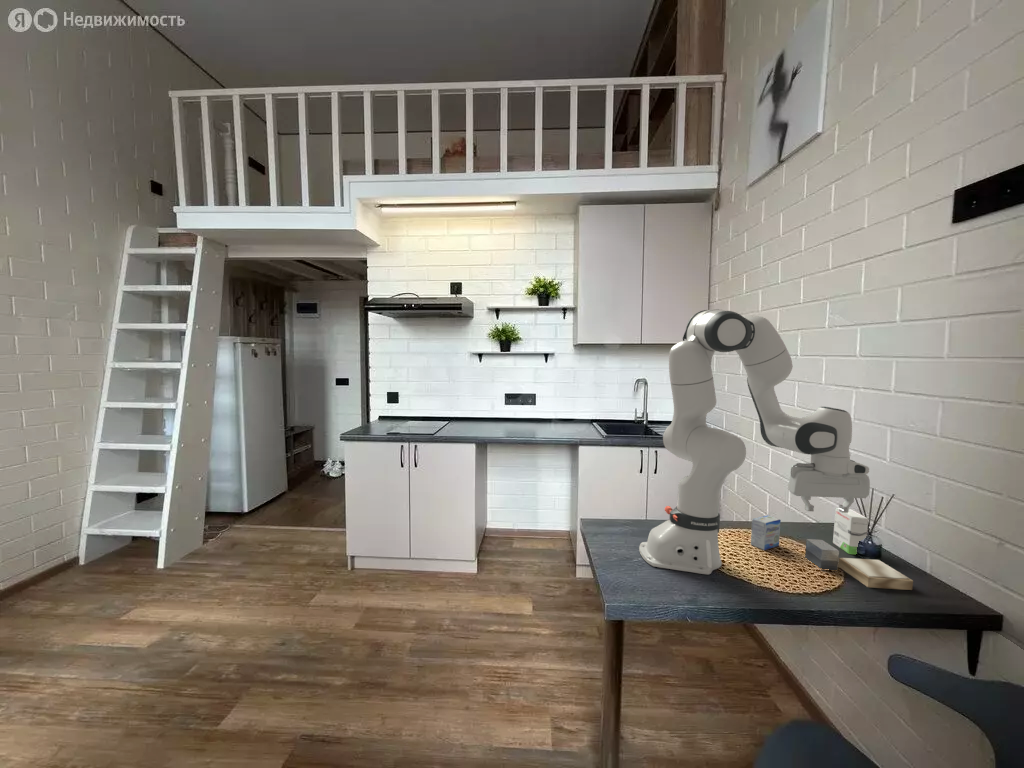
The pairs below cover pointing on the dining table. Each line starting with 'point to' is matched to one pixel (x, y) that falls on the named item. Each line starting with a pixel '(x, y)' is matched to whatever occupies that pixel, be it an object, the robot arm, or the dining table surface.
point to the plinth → (875, 573)
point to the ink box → (849, 530)
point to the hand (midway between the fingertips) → (826, 511)
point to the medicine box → (765, 532)
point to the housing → (822, 554)
